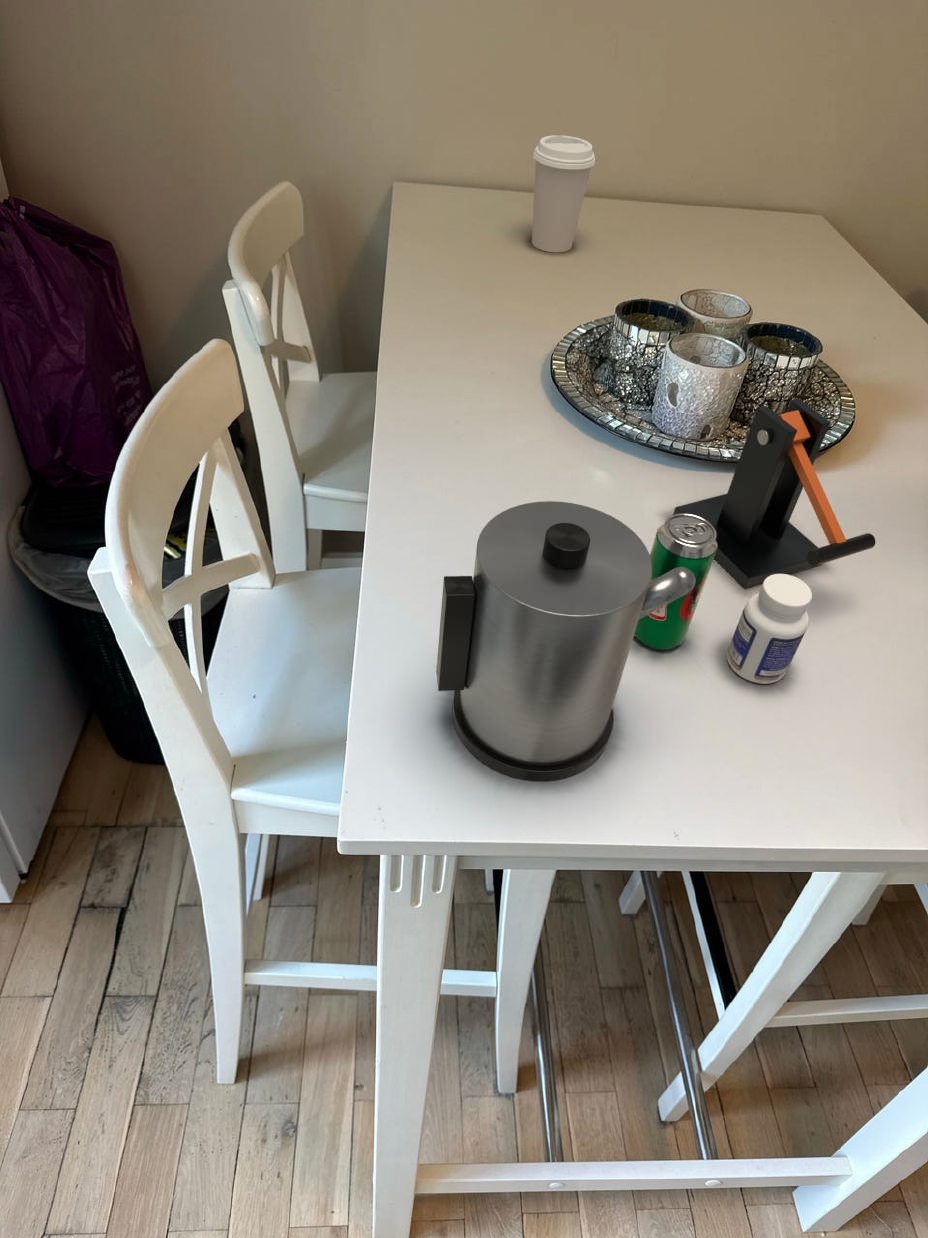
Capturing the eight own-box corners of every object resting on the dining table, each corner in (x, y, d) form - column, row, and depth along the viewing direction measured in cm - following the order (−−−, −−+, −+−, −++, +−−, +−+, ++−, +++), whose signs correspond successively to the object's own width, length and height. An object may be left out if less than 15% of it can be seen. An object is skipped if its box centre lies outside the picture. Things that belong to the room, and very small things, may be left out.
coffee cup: (582, 237, 146) (599, 138, 135) (579, 259, 139) (596, 157, 128) (525, 229, 146) (537, 130, 136) (519, 251, 139) (531, 149, 129)
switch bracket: (821, 564, 89) (881, 439, 78) (744, 588, 85) (796, 460, 75) (746, 496, 96) (791, 374, 86) (672, 516, 93) (710, 391, 82)
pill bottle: (793, 658, 79) (829, 585, 73) (775, 694, 75) (811, 621, 69) (736, 633, 81) (767, 559, 74) (716, 667, 77) (747, 593, 71)
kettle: (630, 654, 78) (683, 478, 65) (669, 775, 68) (741, 600, 55) (428, 659, 75) (440, 478, 62) (441, 786, 66) (459, 605, 53)
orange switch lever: (863, 552, 82) (882, 543, 79) (806, 570, 79) (824, 561, 77) (801, 417, 84) (818, 405, 82) (744, 431, 82) (760, 418, 79)
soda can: (619, 618, 81) (648, 514, 72) (668, 609, 82) (702, 506, 74) (643, 657, 77) (677, 553, 69) (694, 647, 79) (733, 544, 70)
